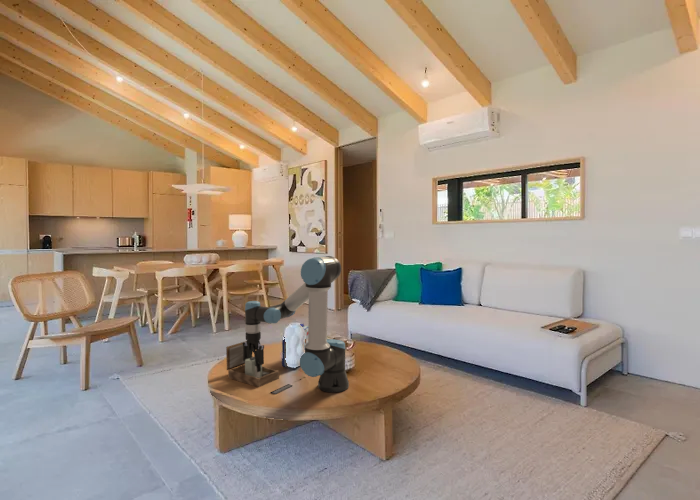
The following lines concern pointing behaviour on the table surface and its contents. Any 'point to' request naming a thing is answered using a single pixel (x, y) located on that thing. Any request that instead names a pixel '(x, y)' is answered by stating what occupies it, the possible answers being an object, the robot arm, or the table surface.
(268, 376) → the case
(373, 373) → the table surface
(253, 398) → the table surface
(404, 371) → the table surface
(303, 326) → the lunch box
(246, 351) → the robot arm
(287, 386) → the mat
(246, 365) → the block
